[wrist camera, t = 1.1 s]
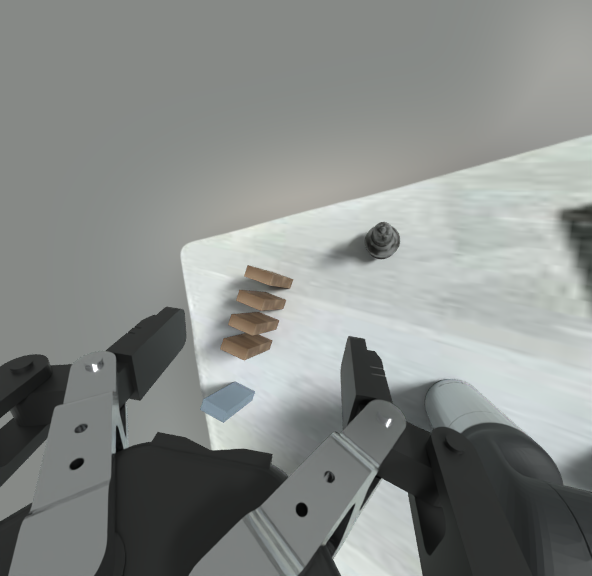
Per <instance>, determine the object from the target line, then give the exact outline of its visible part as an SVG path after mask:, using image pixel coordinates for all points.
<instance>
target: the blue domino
mask: <svg viewBox="0 0 592 576" xmlns="http://www.w3.org/2000/svg"><path fill="white" fill-rule="evenodd" d="M254 393H255V391H253V390H251V389H249V388H247V387H245V386H243V385H241V384H239V383H237V382H234V383H232V384H230V385H228V386H226V387H225V388H223V389H221V390H219V391H217V392H215V393H214V394H212V395H210V396H208V397H206V398H205V399H203V402H202V405H201V408H200V410H202V411H204V412H205V413H207V414H209V415H211V416H212V417H214V418H216V419H218V420H219V421H221V422H223V423H224V422H225V421H226V420H227V419H229V418H230V417H231V416H233V415H234V414H235V413H236V412H238V411H239V410H240V409H242V408H243V407H244V406H245V405H247V404H248V403H249V402H251V401H252V399H253V396H254Z"/></svg>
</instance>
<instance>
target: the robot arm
mask: <svg viewBox="0 0 592 576" xmlns="http://www.w3.org/2000/svg"><path fill="white" fill-rule="evenodd" d="M185 341H186V324H185V313H184V310H183V309H178V308H172V307H165V308H164V309H163V310H162V311H160V312H159V313H158V314H157V315H153V316H150V317H148V318H146V319H144V320H142V321H141V322H140V323H138V324H137V325H136V326H135V328H132V329H131V330H130V331H129V332H128V333H126V334H125V335H124V336H123V337H121V338H120V339H119V340H118V341H117V342H115V343H114V344H113V345H112V346H111V347H109V348H108V349H107V350H106V351H98V352H93V353H90V354H87V355H84V356H83V357H80V358H79V359H77V360H76V361H75V362H74V363H73V364H68V365H52V366H50V363H49V360H48V358H47V357H46V356H44V355H37V354H35V355H27V356H22V357H19V358H16V359H13V360H11V361H9V362H7V363H5V364H4V365H2V366H1V367H0V418H1V417H2V416H3V415H5V414H6V413H7V412H8V411H11V413H12V415H13V417H14V418H13V419H12V420H10V421H9V422H8V423H7V424H6V425H4V426H3V427H2V428H1V429H0V487H1V486H2V485H3V484H4V483H5V482H6V480H7V479H8V478H9V477H10V476H11V475H12V474H13V473H14V472H15V471H16V470H17V469H18V468H19V467H20V466H21V465H22V464H23V463H24V462H25V461H26V460H27V459H28V458H29V456H31V455H32V453H33V452H34V451H35V450H36V449H37V448H38V447H39V446H40V445H41V444H42V443H43V442H44V441H45V440H46V439H47V442H46V447H45V451H44V455H43V460H42V464H41V469H40V473H39V477H38V481H37V486H36V490H35V494H34V499H33V502H32V503H31V504H29V505H27V506H26V507H24V508H22V509H20V510H19V511H17V512H16V513H14V514H12V515H10V516H9V517H7V518H5V519H4V520H2V521H0V576H341V575H340V573H339V571H338V569H337V567H336V565H335V563H334V561H333V559H334V557H335V556H336V554H337V553H338V551H339V549H340V548H341V546H342V545H343V543H344V542H345V540H346V538H347V537H348V535H349V533H350V531H351V529H352V527H353V525H354V524H355V522H356V520H357V518H358V517H359V515H360V513H361V512H362V510H363V509H364V507H365V506H366V504H367V503H368V501H369V499H370V498H371V496H372V495H373V493H374V492H375V490H376V489H377V487H378V485H379V484H380V482H381V481H382V479H384V480H386V481H388V482H390V483H392V484H394V485H395V486H397V487H399V488H401V489H403V490H405V491H406V492H408V497H409V502H410V508H411V513H412V519H413V524H414V530H415V535H416V541H417V546H418V552H419V557H420V563H421V568H422V574H423V576H592V492H588V491H584V490H580V489H576V488H572V487H568V486H564V485H563V481H562V478H561V475H560V472H559V470H558V468H557V466H556V464H555V463H554V461H553V460H552V458H551V457H550V456H549V455H548V454H547V452H546V451H545V450H544V449H543V448H542V447H541V446H540V445H538V444H537V443H536V442H535V441H534V440H533V439H532V438H531V437H529V436H528V435H527V434H526V433H525V432H524V431H523V430H522V429H521V428H519V427H518V426H517V425H516V424H515V423H514V422H512V421H511V420H510V419H509V418H508V417H507V416H506V415H505V414H503V413H502V412H501V411H500V410H499V409H498V408H497V407H496V406H495V405H493V404H492V403H491V402H490V401H489V400H488V399H487V398H486V397H484V396H483V395H482V394H481V393H480V392H479V391H478V390H476V389H475V388H474V387H473V386H471V385H470V384H468V383H466V382H464V381H461V380H456V379H447V380H442V381H440V382H438V383H436V384H435V385H433V386H432V387H431V388H430V389H429V391H428V393H427V395H426V399H425V408H426V412H427V414H428V417H429V419H430V421H431V424H432V426H433V429H434V430H433V431H432V433H430V432H427V431H425V430H423V429H421V428H419V427H416V426H414V425H412V424H410V423H409V422H407V421H406V419H405V416H404V414H403V413H402V412H401V410H400V409H399V408H398V407H396V406H395V405H394V404H393V403H392V399H391V395H390V391H389V387H388V384H387V380H386V377H385V372H384V370H383V364H382V360H381V359H380V357H379V356H378V355H377V353H376V352H375V351H370V350H367V347H366V342H365V339H363V338H357V337H351V336H349V337H348V339H347V343H346V347H345V351H344V355H343V359H342V364H341V396H342V417H343V431H342V432H341V433H340V434H338V433H337V432H333V433H332V434H331V435H330V436H329V437H328V438H327V439H326V440H325V441H324V442H323V443H322V444H321V445H320V446H319V447H318V448H317V449H316V450H315V451H314V452H313V453H312V454H311V455H310V456H309V457H308V458H307V459H306V460H305V461H304V462H303V463H302V464H301V465H300V466H299V467H298V468H297V469H296V470H295V471H294V472H293V473H292V474H291V475H290V476H289V477H288V476H287V475H286V474H285V473H284V472H283V471H282V470H280V469H279V468H277V467H275V466H274V465H272V464H271V462H272V454H269V453H264V452H259V451H253V450H248V449H231V450H215V451H212V450H209V449H207V448H205V447H203V446H201V445H199V444H197V443H195V442H193V441H191V440H189V439H187V438H185V437H181V436H175V435H170V434H165V433H160V432H158V433H157V434H156V436H155V437H154V439H153V440H152V442H146V443H141V444H137V445H134V446H131V447H129V444H128V419H127V418H128V417H127V405H126V401H127V400H128V399H129V398H130V399H134V400H141V399H142V398H143V396H144V395H145V394H146V393H147V392H148V390H149V389H150V388H151V386H152V385H153V384H154V383H155V382H156V380H157V379H158V378H159V377H160V375H161V374H162V373H163V372H164V370H165V369H166V368H167V367H168V365H169V364H170V363H171V362H172V360H173V359H174V358H175V357H176V356H177V354H178V353H179V352H180V351H181V349H182V348H183V346H184V344H185Z"/></svg>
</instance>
